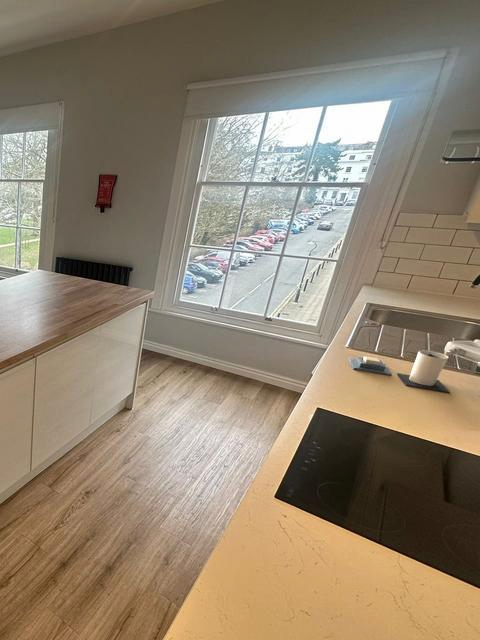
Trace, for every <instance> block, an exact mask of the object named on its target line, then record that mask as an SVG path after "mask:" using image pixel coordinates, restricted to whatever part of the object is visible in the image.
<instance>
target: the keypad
mask: <svg viewBox="0 0 480 640" xmlns="http://www.w3.org/2000/svg"><path fill="white" fill-rule="evenodd" d="M363 358H364V357H361V356H356V358H350V357H348V358H347V361H348V363H349V365H350V367H351V368H352V370H353V371H358V372H362V373H363V372H364V373H370V374H374V375H381V376H386V377H387V376H388V377H393V373H392V372H391V371H390V369H389V367H387V365H386V364H385V363H384V362H382V360H380V359H379V361H380V363H379V365H376V364H370V363H365V362H364V361H363Z"/></svg>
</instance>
